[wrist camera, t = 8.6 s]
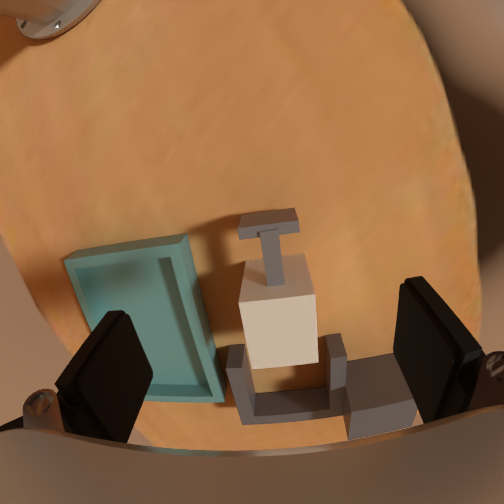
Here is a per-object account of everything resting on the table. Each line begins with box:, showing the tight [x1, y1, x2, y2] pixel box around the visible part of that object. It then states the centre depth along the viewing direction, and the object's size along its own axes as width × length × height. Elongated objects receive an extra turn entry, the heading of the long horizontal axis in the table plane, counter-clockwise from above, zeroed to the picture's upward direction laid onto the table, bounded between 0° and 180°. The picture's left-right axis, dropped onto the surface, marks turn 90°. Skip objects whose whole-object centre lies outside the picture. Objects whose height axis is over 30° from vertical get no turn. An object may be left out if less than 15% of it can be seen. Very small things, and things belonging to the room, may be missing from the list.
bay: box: [226, 333, 418, 440], centre depth 27 cm, size 9×18×7 cm, turn 99°
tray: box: [64, 233, 227, 403], centre depth 29 cm, size 18×12×2 cm, turn 9°
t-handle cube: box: [238, 208, 318, 369], centre depth 23 cm, size 10×5×7 cm, turn 9°
